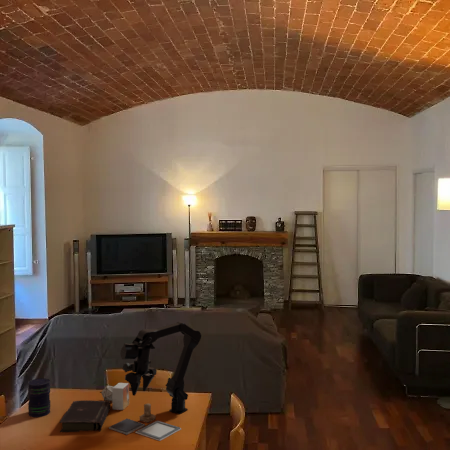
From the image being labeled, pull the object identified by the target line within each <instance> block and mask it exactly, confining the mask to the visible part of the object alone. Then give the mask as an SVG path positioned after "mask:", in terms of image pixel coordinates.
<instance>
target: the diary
mask: <svg viewBox="0 0 450 450" xmlns="http://www.w3.org/2000/svg"><path fill="white" fill-rule="evenodd" d="M111 407H112V405H111V401H106V400H105V401H104V400H89V399H88V400H86V399H85V400H73V401H72V403H71V404H70V406H69V407H68V409H67V410H66V412H65V413H64V414H63V416H62V418H61V419H60V421H59V424H61V429H60V431H59V433H80V432H81V431H82V432H84V431H85V432H89V431H90V432H92V431H93V432H96V431H97V430H98V429H99V432H101V430H102V428H103V425H104V423H105V421H106V419H107V417H108V414H109V412H110V410H111ZM94 430H95V431H94Z"/></svg>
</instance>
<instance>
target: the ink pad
mask: <svg viewBox="0 0 450 450" xmlns="http://www.w3.org/2000/svg"><path fill="white" fill-rule="evenodd" d="M144 427H146V424H145V423H143V422H141V421H140V422H139V421H136V420H133V419H130V418H125V419H122V420H120V421H118V422H116V423H115V424H112V425H110V426H109V427H108V429H109V430H112V431H115V432H118V433H120V434H124V435H129V434H131V433H133V432H136V431H138V430H140V429H142V428H144Z"/></svg>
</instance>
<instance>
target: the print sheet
mask: <svg viewBox="0 0 450 450" xmlns="http://www.w3.org/2000/svg"><path fill="white" fill-rule="evenodd" d="M181 430H182V428H181V427H180V426H176V425H173V424H170V423H166V422H163V421H161V420H154V421H152V423H151V422H150V423H148V425H145V426H143V427H141V428H139V429H137V430H135V431H134V432H135V433H136V434H138V435H141V436H143V437H146V438H150V439H153V440H156V441H163V440H165V439H166V438H168V437H170V436H171V435H173V434H175V433H177V432H179V431H181Z"/></svg>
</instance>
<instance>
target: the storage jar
mask: <svg viewBox="0 0 450 450" xmlns="http://www.w3.org/2000/svg"><path fill="white" fill-rule="evenodd" d="M27 385H28V386H27V393H28V394H27V395H28V403H27V407H28V408H27V410H28V416H29V417H31V418H41V417H46V416H47V415H50V413H51V406H52V405H51V400H50V399H51V395H50V393H51V380H50V378H46V377H45V378H43V377H42V378H40V377H39V378H34V379H31V380H29V381H28V382H27Z"/></svg>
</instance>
